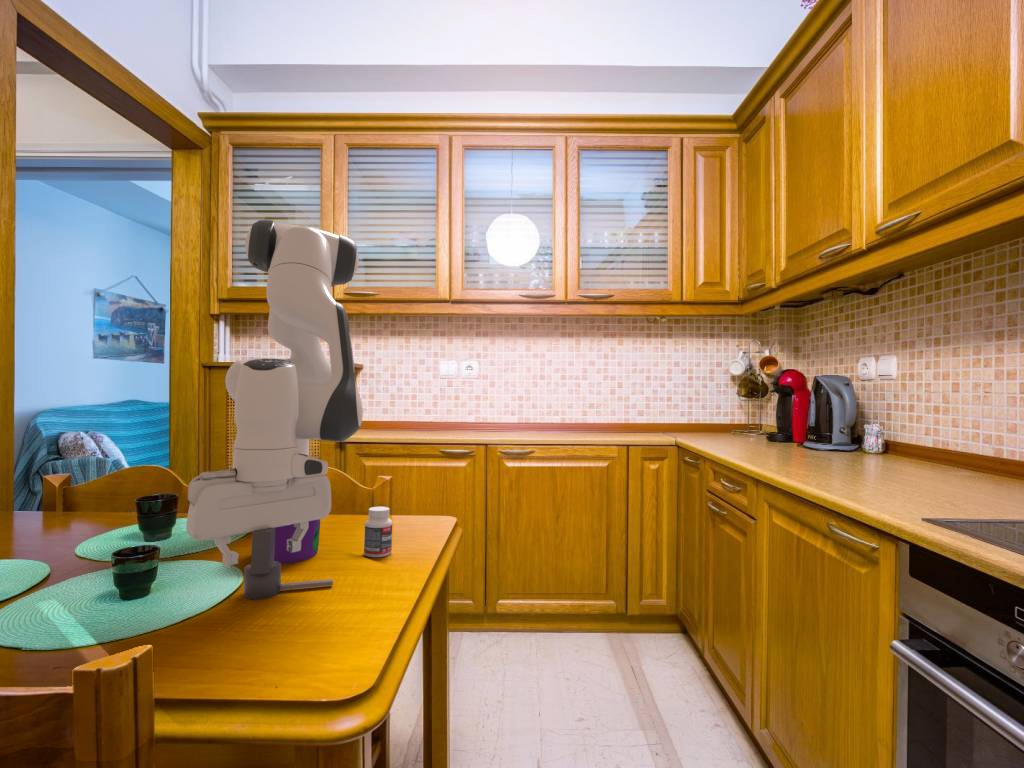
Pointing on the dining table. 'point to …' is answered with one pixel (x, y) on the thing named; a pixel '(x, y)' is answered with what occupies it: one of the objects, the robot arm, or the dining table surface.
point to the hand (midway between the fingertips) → (263, 558)
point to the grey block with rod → (268, 569)
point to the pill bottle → (378, 533)
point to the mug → (307, 543)
